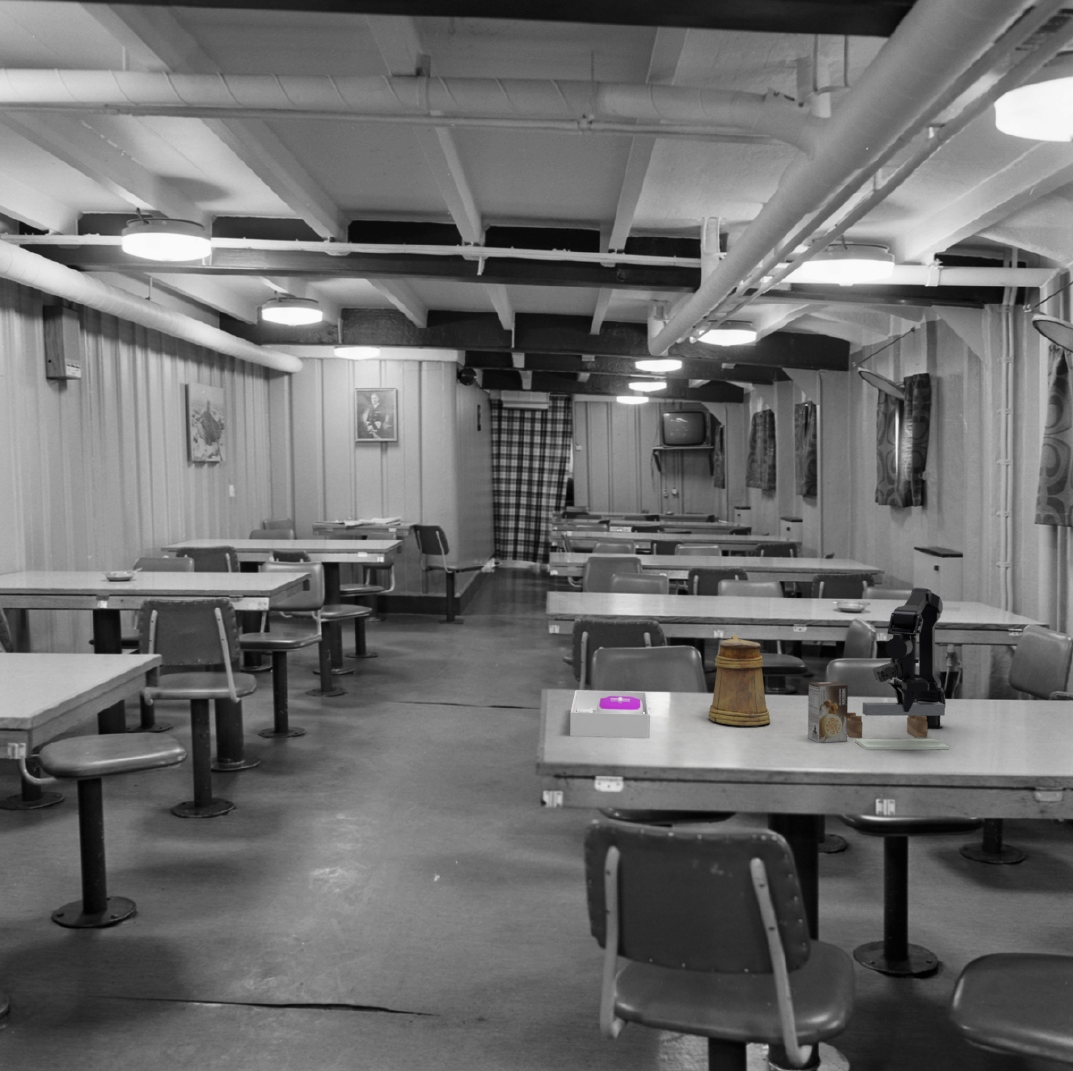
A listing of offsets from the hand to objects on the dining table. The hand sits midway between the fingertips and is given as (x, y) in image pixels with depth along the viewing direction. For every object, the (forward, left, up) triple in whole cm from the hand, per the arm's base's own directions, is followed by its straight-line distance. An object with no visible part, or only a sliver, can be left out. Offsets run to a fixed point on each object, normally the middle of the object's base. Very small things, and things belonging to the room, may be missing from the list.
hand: (903, 710), depth 289 cm
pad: (+1, 0, -10) cm, 10 cm away
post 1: (+10, -13, -10) cm, 19 cm away
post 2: (-9, -13, -10) cm, 19 cm away
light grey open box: (+78, -27, -10) cm, 83 cm away
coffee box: (+19, -7, -10) cm, 23 cm away
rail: (0, 0, -1) cm, 1 cm away
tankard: (+38, -34, -10) cm, 52 cm away
